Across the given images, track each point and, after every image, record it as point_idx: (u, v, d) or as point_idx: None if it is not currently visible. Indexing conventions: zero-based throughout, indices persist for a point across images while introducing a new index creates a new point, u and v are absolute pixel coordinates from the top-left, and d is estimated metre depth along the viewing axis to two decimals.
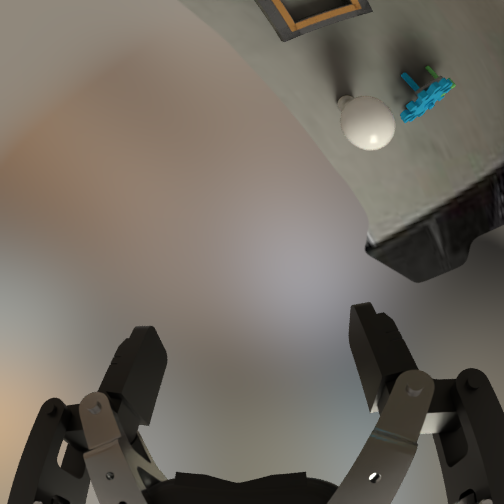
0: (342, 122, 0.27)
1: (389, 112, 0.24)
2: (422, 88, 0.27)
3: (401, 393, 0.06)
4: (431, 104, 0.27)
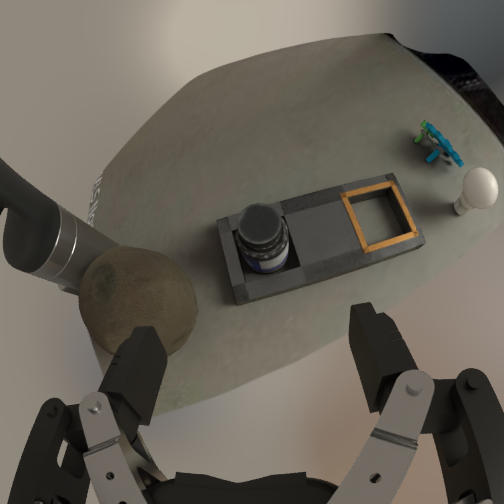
0: (484, 206, 0.29)
1: (474, 169, 0.29)
2: (437, 146, 0.38)
3: (401, 393, 0.06)
4: (447, 141, 0.37)
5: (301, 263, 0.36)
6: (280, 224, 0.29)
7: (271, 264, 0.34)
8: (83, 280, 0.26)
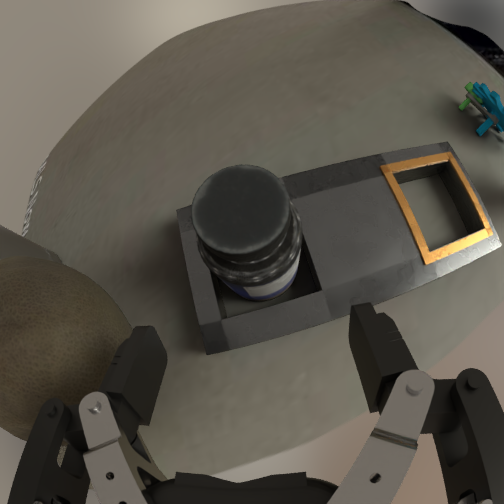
0: None
1: None
2: (489, 114, 0.22)
3: (401, 393, 0.06)
4: None
5: (322, 284, 0.20)
6: (287, 208, 0.12)
7: (268, 290, 0.17)
8: None
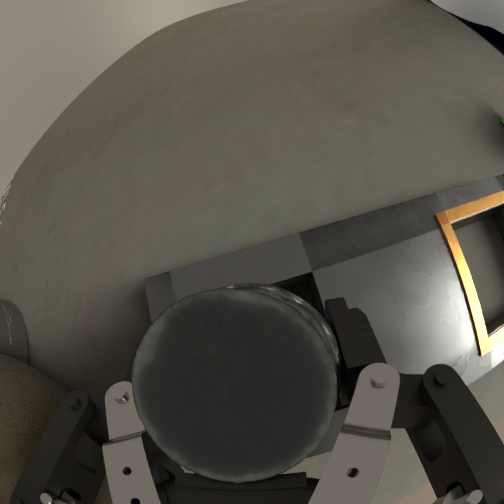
0: None
1: None
2: None
3: (366, 387, 0.06)
4: None
5: None
6: (332, 403, 0.05)
7: None
8: None
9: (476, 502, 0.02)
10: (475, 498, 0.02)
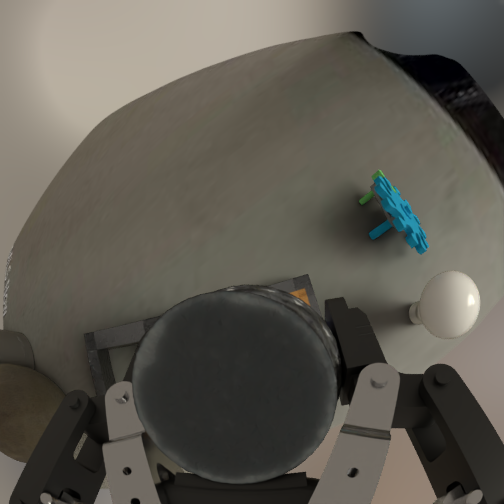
0: None
1: (442, 281, 0.20)
2: (388, 217, 0.29)
3: (366, 387, 0.06)
4: (407, 209, 0.27)
5: None
6: (332, 406, 0.05)
7: None
8: None
9: (476, 502, 0.02)
10: (475, 498, 0.02)
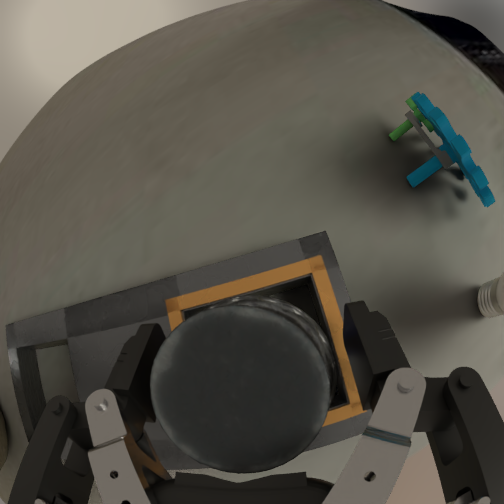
0: None
1: None
2: (436, 151, 0.16)
3: (392, 391, 0.06)
4: None
5: None
6: (325, 404, 0.06)
7: None
8: None
9: None
10: None
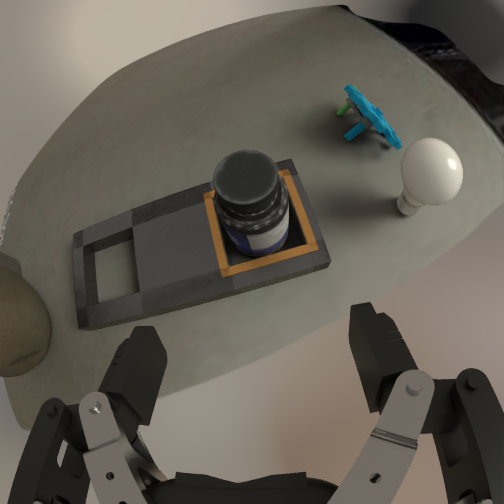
0: (437, 200, 0.20)
1: (417, 141, 0.20)
2: (360, 117, 0.29)
3: (401, 393, 0.06)
4: (377, 109, 0.28)
5: (140, 288, 0.27)
6: (276, 176, 0.19)
7: (265, 241, 0.24)
8: None
9: None
10: None
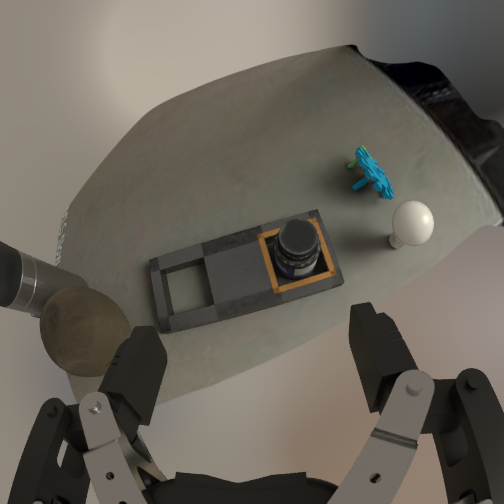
0: (414, 244, 0.33)
1: (404, 205, 0.33)
2: (365, 174, 0.42)
3: (401, 393, 0.06)
4: (378, 169, 0.41)
5: (215, 301, 0.40)
6: (317, 237, 0.32)
7: (304, 271, 0.37)
8: (41, 314, 0.30)
9: None
10: None
